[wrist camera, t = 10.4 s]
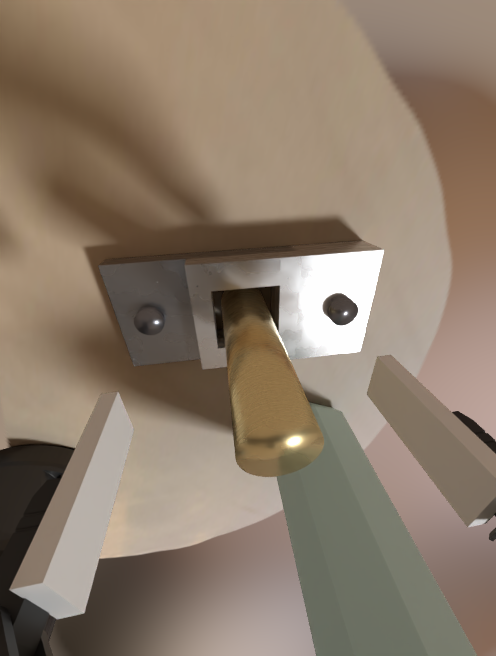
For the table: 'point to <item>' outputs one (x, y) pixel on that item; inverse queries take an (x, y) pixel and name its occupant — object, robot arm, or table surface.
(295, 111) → the table surface
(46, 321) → the table surface
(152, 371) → the table surface
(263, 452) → the pin
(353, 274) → the chain ends
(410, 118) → the table surface
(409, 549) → the water bottle
